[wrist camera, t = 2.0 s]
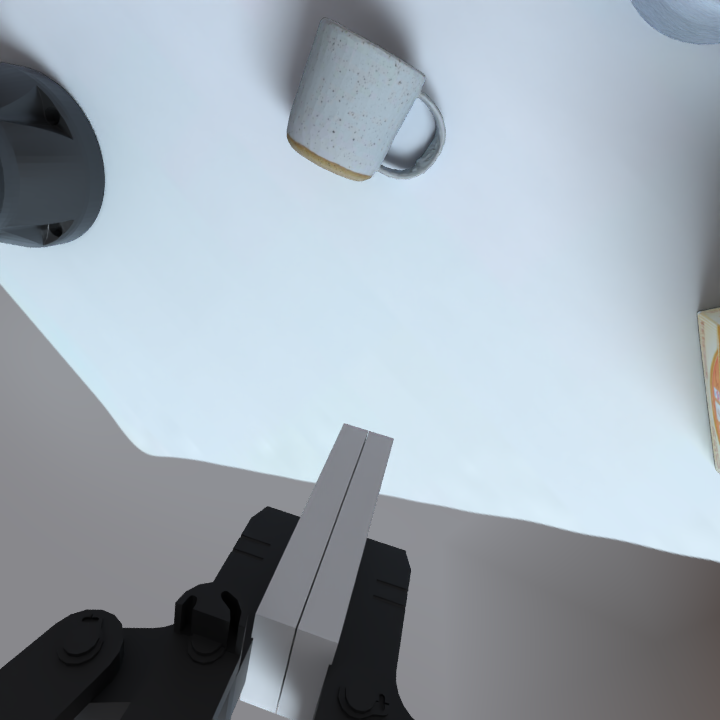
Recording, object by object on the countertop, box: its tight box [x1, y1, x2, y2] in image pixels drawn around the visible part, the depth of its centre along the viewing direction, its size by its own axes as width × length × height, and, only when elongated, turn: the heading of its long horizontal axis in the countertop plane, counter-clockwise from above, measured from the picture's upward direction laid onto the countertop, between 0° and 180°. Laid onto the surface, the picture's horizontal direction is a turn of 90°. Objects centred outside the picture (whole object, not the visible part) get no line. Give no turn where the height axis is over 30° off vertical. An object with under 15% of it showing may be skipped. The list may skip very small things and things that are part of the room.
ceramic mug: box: [287, 17, 446, 181], centre depth 34 cm, size 11×8×8 cm
